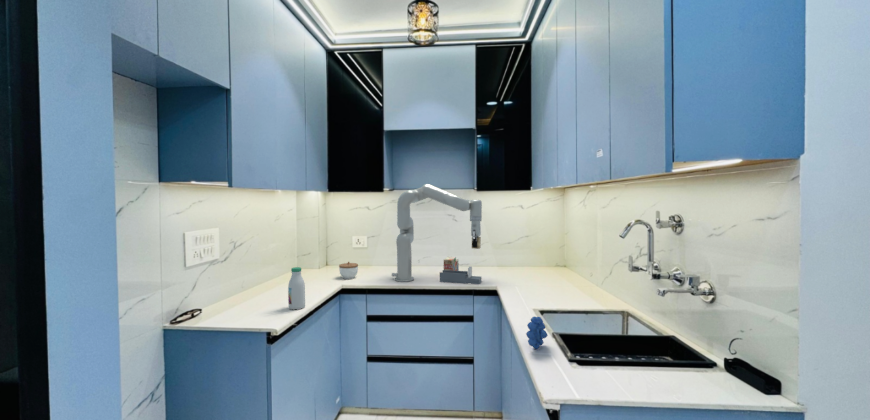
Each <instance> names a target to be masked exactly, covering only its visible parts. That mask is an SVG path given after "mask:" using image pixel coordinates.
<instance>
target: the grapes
mask: <svg viewBox="0 0 870 420" xmlns="http://www.w3.org/2000/svg"><path fill="white" fill-rule="evenodd" d="M526 325H527V328H528V329H529V330H527V332H526V333H525V335H526V337H527V339H528V340H527V343H528V344H529V346H530V347H532V348H533V349H535V350H537V349H539V348H540V346H541V347H542V345H543V344H544V343H545V342H544V339H546V338H547V337H548V333H547V331H546V330H545V329H546V325H545V323H544V321H543V319H542V317H541V316H532V317H531V318H530V321H529V322H527V324H526Z"/></svg>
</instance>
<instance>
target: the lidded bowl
mask: <svg viewBox="0 0 870 420" xmlns="http://www.w3.org/2000/svg"><path fill="white" fill-rule="evenodd" d="M338 267H339V274H340V276H341V277H342V278H343V280H344V279H345V280H351V278H352V279H354V278H355V277H356V275H357V274H358V270H359V264H358V263H355V262H350V261H347V262H346V263H345V262H344V263H341V264H339V265H338Z"/></svg>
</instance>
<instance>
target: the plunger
mask: <svg viewBox="0 0 870 420" xmlns="http://www.w3.org/2000/svg"><path fill="white" fill-rule="evenodd" d="M467 271H468V274H466V276H468V278H471V276H473V267H472V266H468V268H467Z"/></svg>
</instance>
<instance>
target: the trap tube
mask: <svg viewBox="0 0 870 420" xmlns="http://www.w3.org/2000/svg"><path fill="white" fill-rule="evenodd" d="M466 274H468V270H467V271H466V270H459V271H453V270H444V269H443V270H442V272H441V271H440V272H439V282H440V283H451V284H452V283H455V284H468V283H471V284H472V285H473V284H474V285H480V284H481V283H482V276H480V275H479V276H478V275H477V276H475V275H474V276H473V275H472V276H471V278H468V276H466Z"/></svg>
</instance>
